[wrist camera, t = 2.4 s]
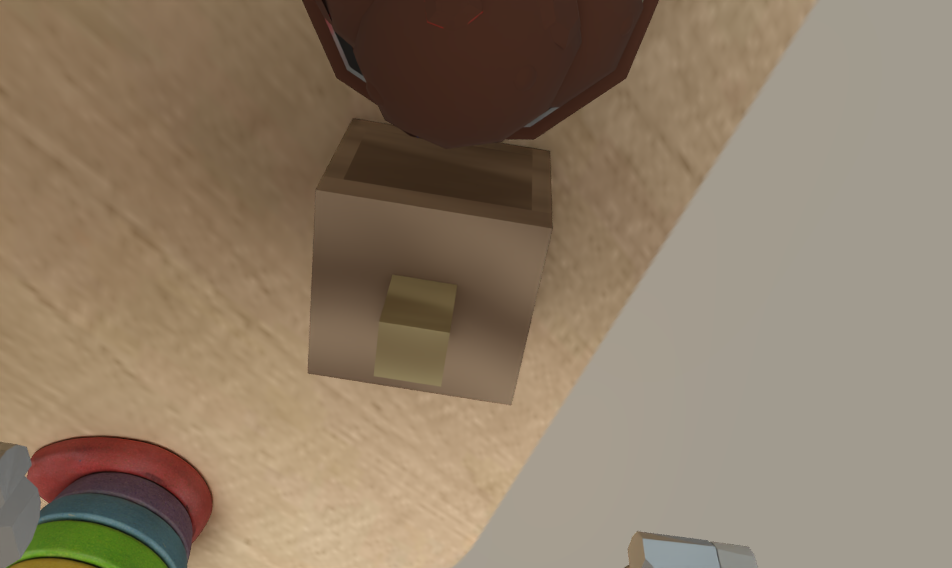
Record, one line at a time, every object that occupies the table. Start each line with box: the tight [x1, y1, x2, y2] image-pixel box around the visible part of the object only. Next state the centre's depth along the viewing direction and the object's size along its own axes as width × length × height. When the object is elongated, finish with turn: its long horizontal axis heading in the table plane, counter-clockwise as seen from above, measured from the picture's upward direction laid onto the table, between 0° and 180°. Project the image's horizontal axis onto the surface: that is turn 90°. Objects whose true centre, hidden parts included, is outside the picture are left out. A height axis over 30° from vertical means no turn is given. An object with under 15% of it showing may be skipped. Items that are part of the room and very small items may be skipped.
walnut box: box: [323, 119, 552, 214], centre depth 36 cm, size 9×9×6 cm
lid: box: [308, 176, 553, 405], centre depth 32 cm, size 9×9×4 cm
